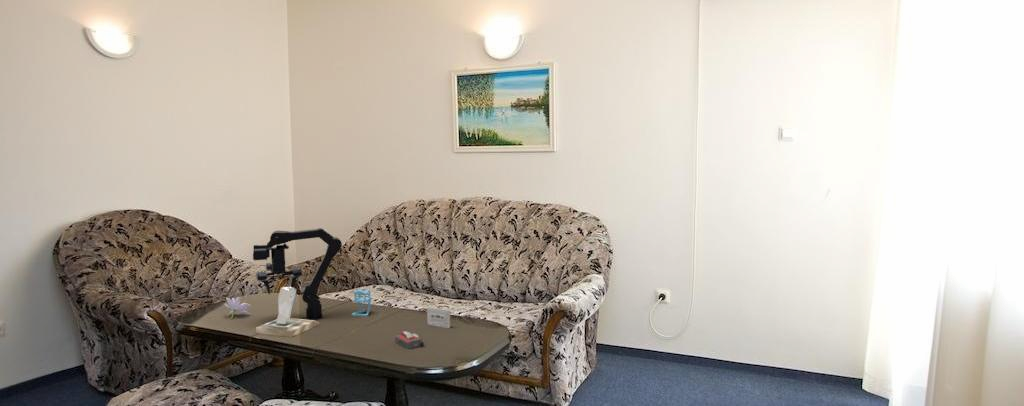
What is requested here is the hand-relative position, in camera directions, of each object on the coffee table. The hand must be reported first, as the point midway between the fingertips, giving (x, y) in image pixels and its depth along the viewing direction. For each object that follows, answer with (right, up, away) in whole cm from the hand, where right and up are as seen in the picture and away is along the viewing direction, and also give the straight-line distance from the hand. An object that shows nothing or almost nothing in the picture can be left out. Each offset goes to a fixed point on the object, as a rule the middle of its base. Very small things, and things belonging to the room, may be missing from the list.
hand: (279, 292), depth 267 cm
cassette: (+73, -13, -10) cm, 75 cm away
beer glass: (+7, -11, -13) cm, 18 cm away
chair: (+35, -12, +12) cm, 38 cm away
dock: (+8, -14, -11) cm, 20 cm away
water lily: (-23, -13, +10) cm, 28 cm away
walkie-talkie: (+63, -16, -30) cm, 72 cm away
